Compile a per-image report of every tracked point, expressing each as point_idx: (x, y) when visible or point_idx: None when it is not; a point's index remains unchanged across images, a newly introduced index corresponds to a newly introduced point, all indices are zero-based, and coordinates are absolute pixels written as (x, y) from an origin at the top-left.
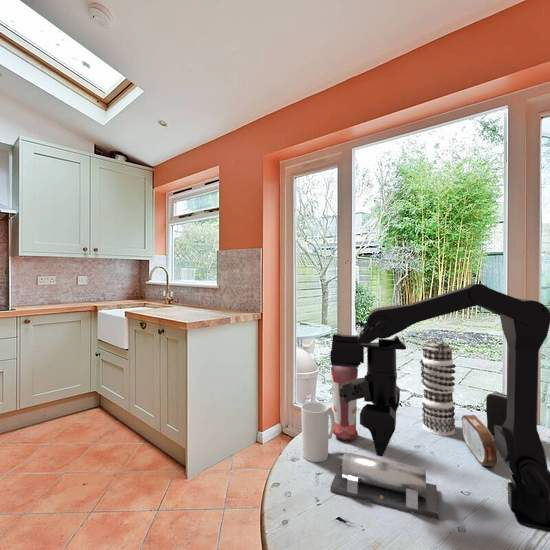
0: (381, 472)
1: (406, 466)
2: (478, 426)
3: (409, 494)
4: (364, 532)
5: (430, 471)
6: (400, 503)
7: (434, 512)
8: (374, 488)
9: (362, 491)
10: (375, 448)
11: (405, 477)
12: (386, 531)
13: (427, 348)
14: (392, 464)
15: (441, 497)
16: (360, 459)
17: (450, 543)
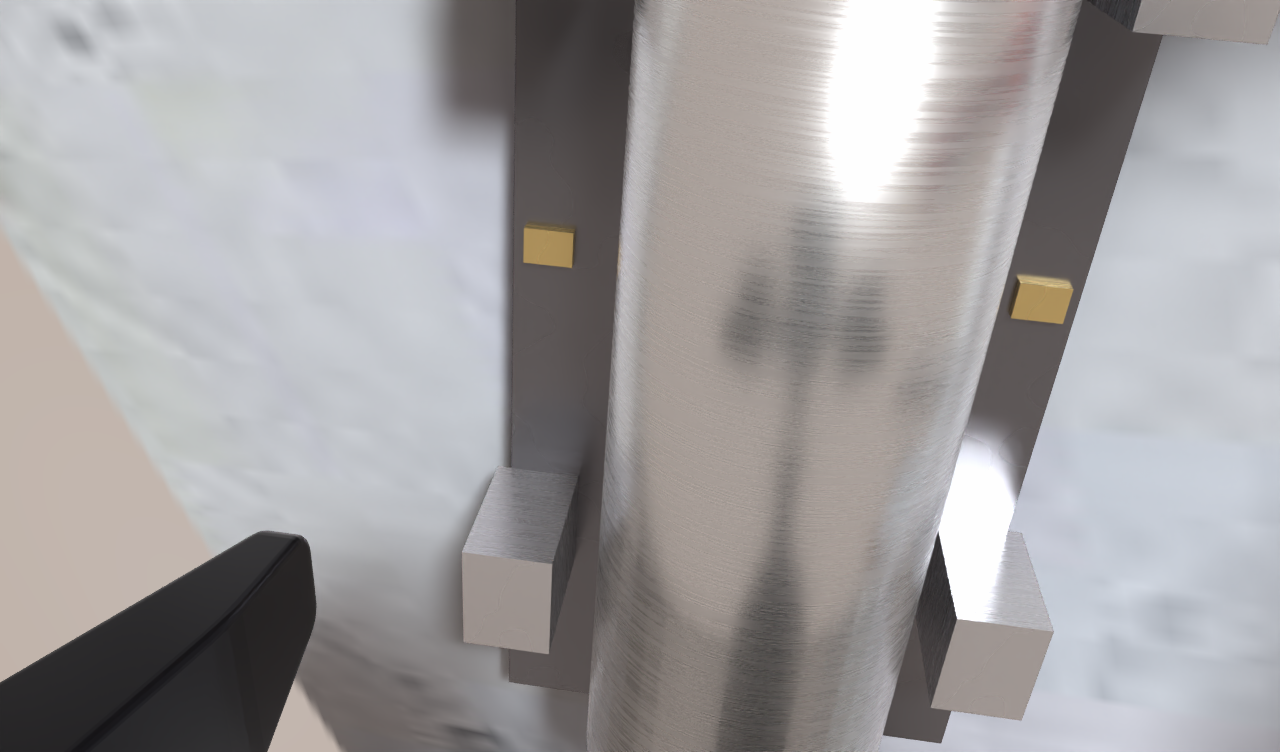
0: (630, 363)
1: (749, 707)
2: None
3: (467, 575)
4: (42, 51)
5: (1274, 720)
6: (523, 422)
7: (515, 657)
8: None
9: (584, 8)
10: (121, 619)
11: (610, 627)
12: (172, 254)
13: None
14: (752, 555)
15: None
16: (786, 41)
17: None
